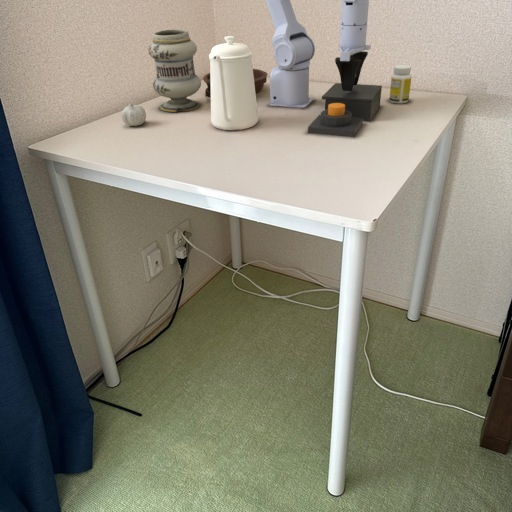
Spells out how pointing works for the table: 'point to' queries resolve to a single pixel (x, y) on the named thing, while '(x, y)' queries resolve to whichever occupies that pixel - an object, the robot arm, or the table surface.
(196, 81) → the apothecary jar
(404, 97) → the supplement bottle
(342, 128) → the orange push button box
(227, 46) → the coffeepot
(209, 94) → the dish
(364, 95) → the lid
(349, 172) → the table surface
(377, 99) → the dark grey lipped box
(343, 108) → the button
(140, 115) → the garlic
